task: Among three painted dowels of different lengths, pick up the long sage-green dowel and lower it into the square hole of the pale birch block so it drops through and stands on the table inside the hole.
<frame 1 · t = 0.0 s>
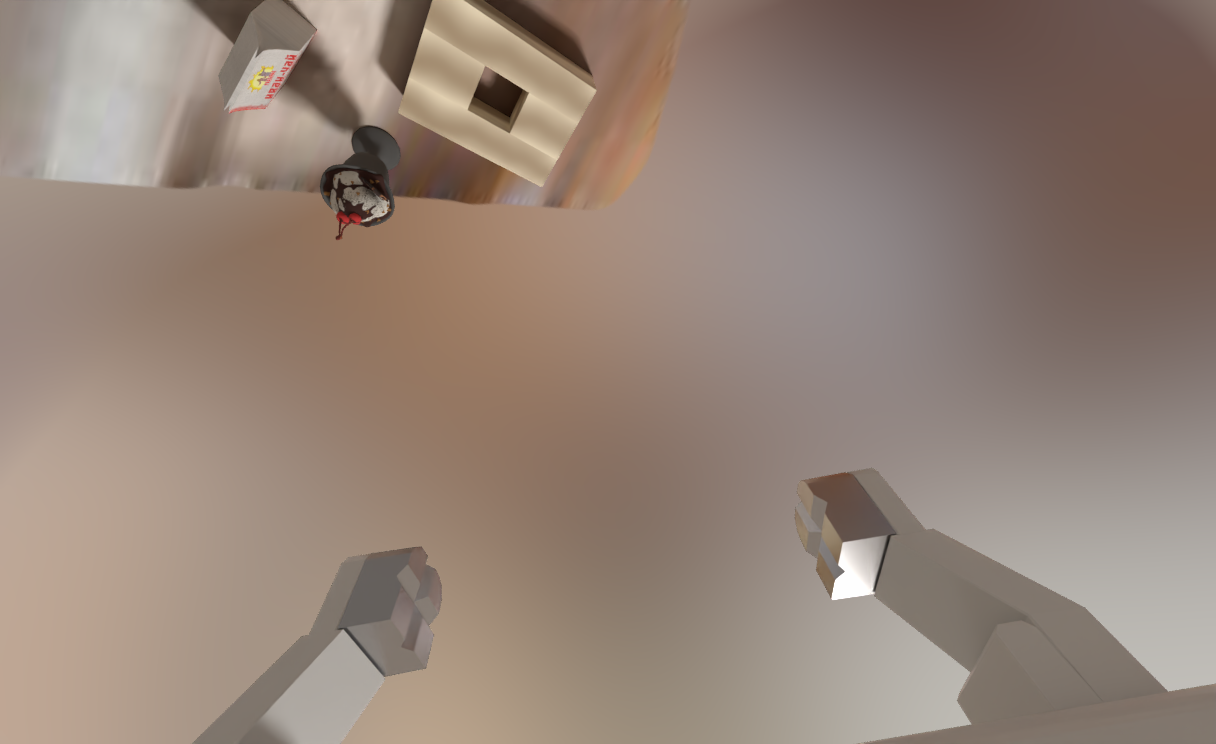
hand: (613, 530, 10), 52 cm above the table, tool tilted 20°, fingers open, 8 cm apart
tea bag: (280, 40, 44), on the table
sundae: (377, 148, 53), on the table
hole block: (498, 86, 49), on the table
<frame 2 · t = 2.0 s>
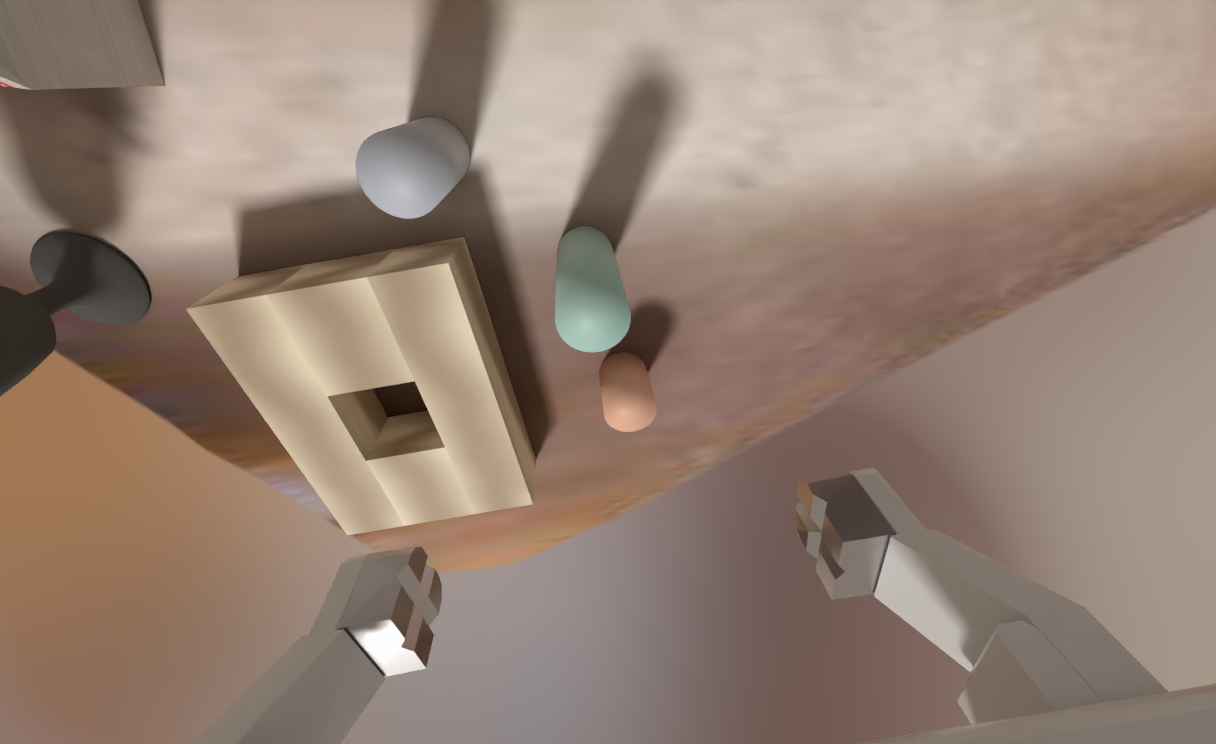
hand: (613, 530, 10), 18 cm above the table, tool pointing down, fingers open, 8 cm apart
long dowel: (585, 253, 25), on the table
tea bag: (56, 18, 18), on the table
sundae: (96, 279, 24), on the table
short dowel: (622, 372, 29), on the table
hole block: (409, 381, 29), on the table
medium dowel: (437, 152, 22), on the table
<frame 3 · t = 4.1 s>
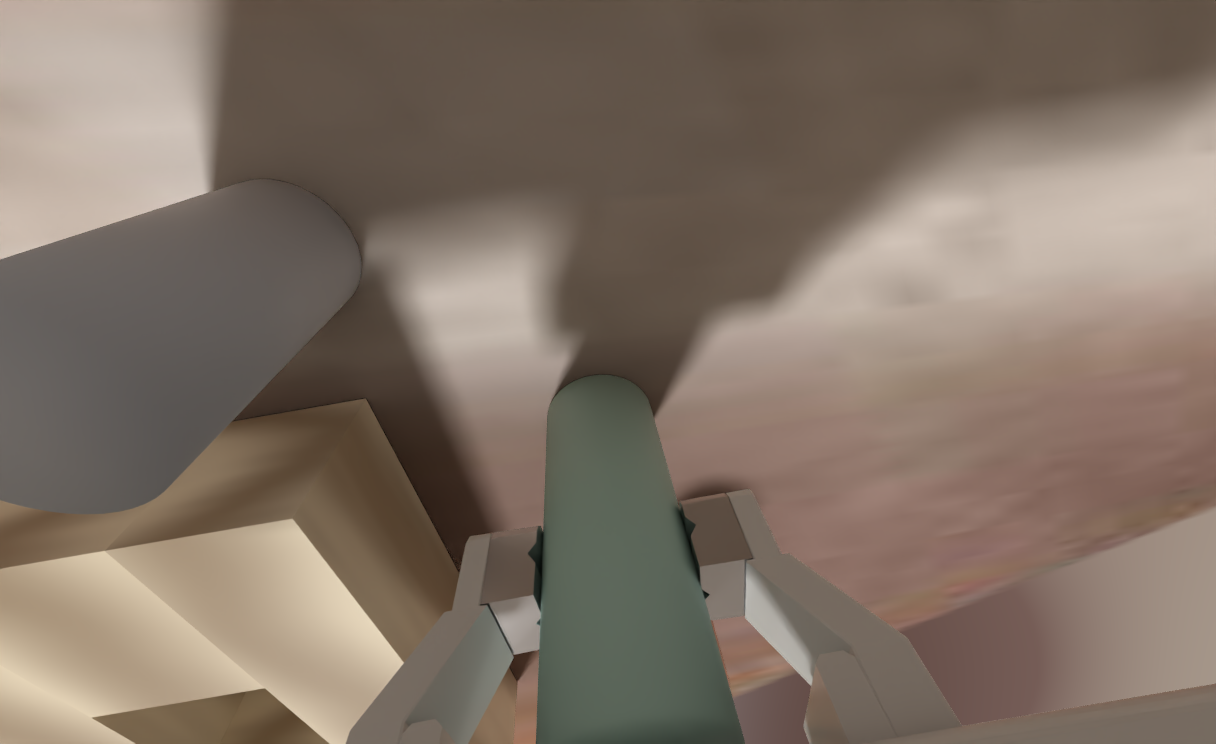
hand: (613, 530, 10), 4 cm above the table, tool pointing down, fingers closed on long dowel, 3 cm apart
long dowel: (599, 418, 13), on the table, touching gripper
hole block: (296, 605, 17), on the table
medium dowel: (288, 251, 10), on the table
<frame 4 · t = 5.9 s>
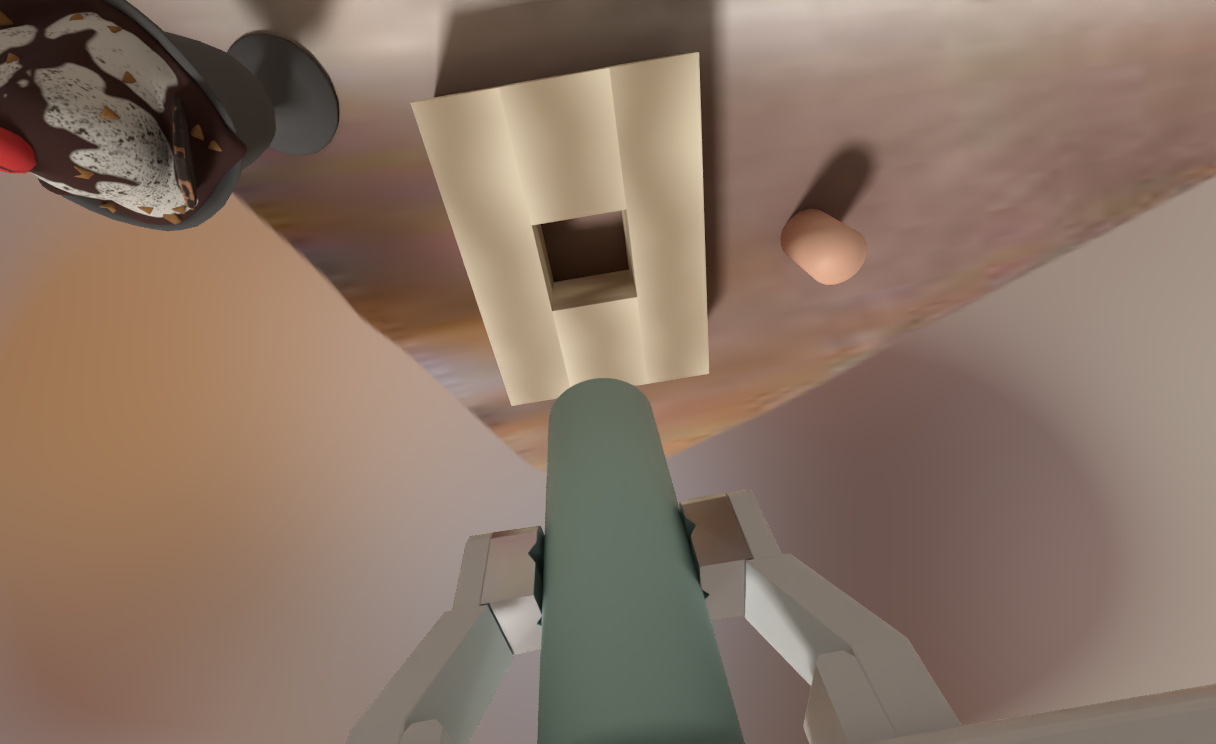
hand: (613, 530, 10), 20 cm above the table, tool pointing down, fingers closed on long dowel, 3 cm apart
long dowel: (601, 421, 13), point 16 cm above the table, touching gripper
sundae: (284, 98, 22), on the table
short dowel: (805, 234, 28), on the table
hole block: (584, 238, 27), on the table
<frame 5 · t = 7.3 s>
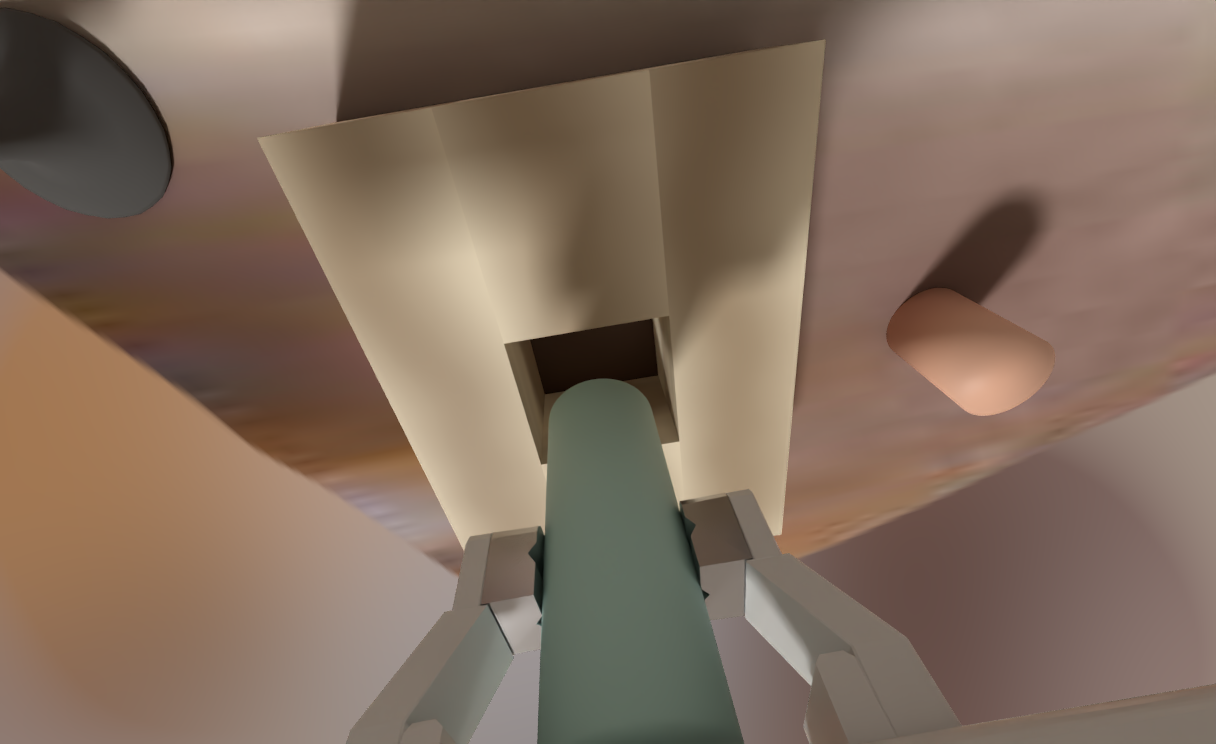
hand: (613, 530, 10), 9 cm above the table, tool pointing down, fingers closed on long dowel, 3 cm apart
long dowel: (601, 422, 13), point 5 cm above the table, touching gripper
sundae: (71, 124, 13), on the table
short dowel: (924, 323, 18), on the table
hole block: (592, 334, 17), on the table
when the fingers open (5 cm above the table, at t = 8.2 s): long dowel drops 2 cm, resting in hole block.
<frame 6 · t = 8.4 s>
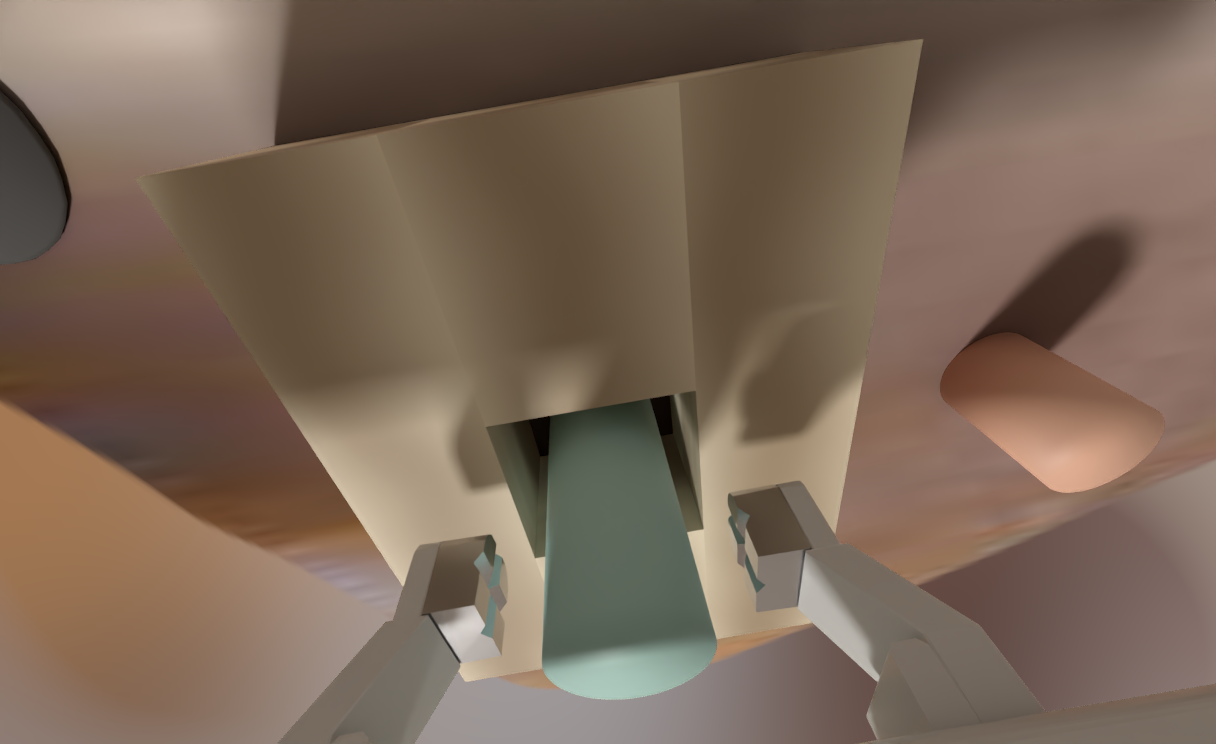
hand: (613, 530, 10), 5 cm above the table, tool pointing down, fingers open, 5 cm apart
long dowel: (598, 391, 15), resting in hole block
short dowel: (985, 372, 16), on the table
hole block: (595, 390, 15), on the table
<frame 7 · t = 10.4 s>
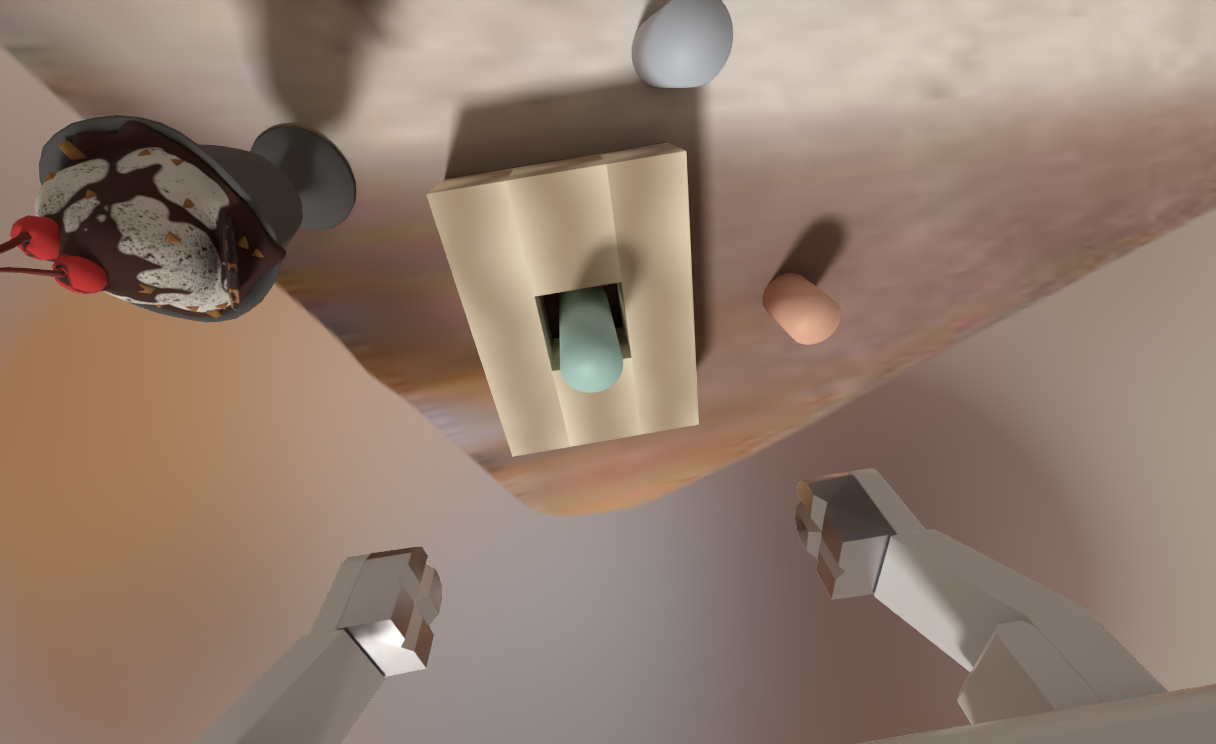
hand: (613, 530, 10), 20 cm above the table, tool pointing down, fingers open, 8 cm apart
long dowel: (583, 301, 29), resting in hole block
sundae: (305, 180, 24), on the table
short dowel: (785, 295, 30), on the table
hole block: (581, 300, 29), on the table
medium dowel: (662, 51, 23), on the table
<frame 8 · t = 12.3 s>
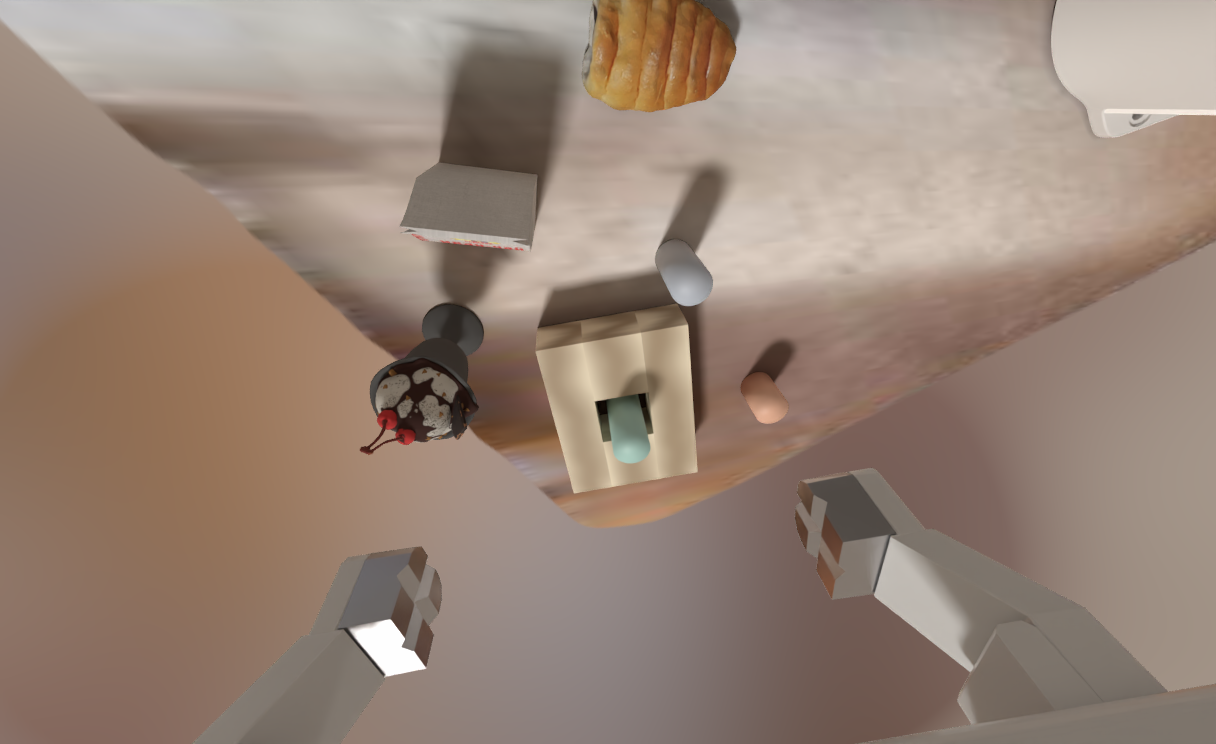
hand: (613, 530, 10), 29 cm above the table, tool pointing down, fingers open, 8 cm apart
long dowel: (620, 392, 44), resting in hole block
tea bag: (489, 195, 34), on the table
sundae: (453, 330, 39), on the table
short dowel: (755, 385, 45), on the table
hole block: (620, 391, 44), on the table
medium dowel: (673, 257, 37), on the table
pastry: (645, 48, 30), on the table
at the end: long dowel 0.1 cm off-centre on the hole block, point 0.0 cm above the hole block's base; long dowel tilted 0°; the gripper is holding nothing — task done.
